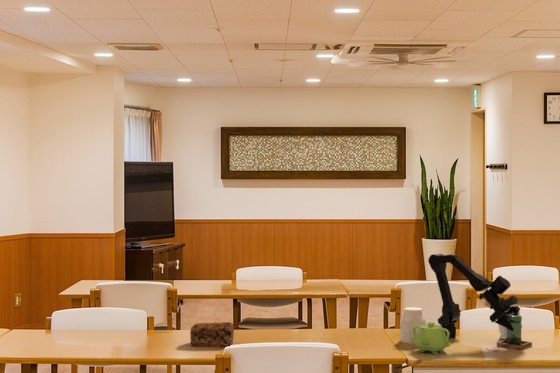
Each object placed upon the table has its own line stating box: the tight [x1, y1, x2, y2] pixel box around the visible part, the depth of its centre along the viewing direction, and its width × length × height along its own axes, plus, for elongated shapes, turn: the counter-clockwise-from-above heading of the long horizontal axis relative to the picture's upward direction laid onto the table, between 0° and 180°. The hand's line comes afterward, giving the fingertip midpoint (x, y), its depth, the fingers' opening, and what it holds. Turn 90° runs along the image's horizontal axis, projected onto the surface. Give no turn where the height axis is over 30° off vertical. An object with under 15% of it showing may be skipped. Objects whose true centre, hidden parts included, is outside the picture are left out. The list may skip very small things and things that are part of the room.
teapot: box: [412, 321, 451, 355], centre depth 349 cm, size 16×14×13 cm
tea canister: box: [505, 315, 523, 345], centre depth 358 cm, size 7×7×12 cm
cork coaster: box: [484, 346, 507, 353], centre depth 351 cm, size 9×9×1 cm
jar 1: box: [399, 306, 427, 345], centre depth 370 cm, size 12×10×15 cm
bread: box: [189, 321, 235, 348], centre depth 363 cm, size 19×11×10 cm, turn 86°
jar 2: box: [497, 304, 521, 340], centre depth 378 cm, size 11×10×15 cm
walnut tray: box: [496, 339, 533, 351], centre depth 358 cm, size 11×11×2 cm
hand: (517, 328), depth 357 cm, fingers open, 8 cm apart
